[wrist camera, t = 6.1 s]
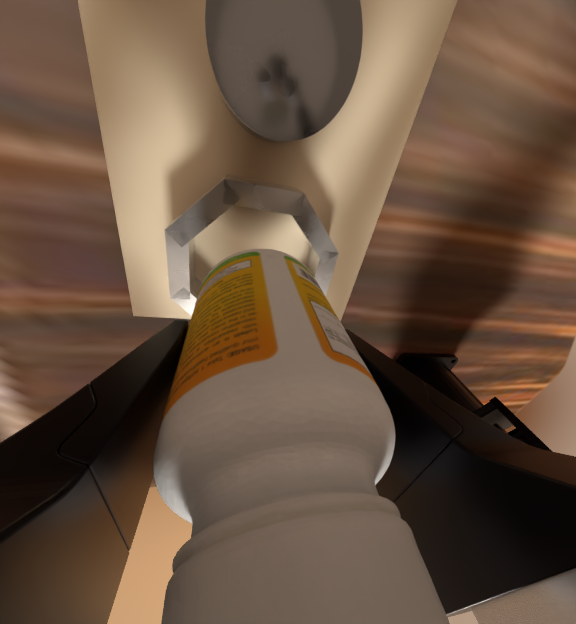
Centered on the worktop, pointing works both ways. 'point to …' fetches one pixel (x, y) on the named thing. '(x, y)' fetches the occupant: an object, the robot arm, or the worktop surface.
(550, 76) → the worktop surface
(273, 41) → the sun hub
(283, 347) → the supplement bottle
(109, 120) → the carrier plate
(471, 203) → the worktop surface
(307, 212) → the socket collar
